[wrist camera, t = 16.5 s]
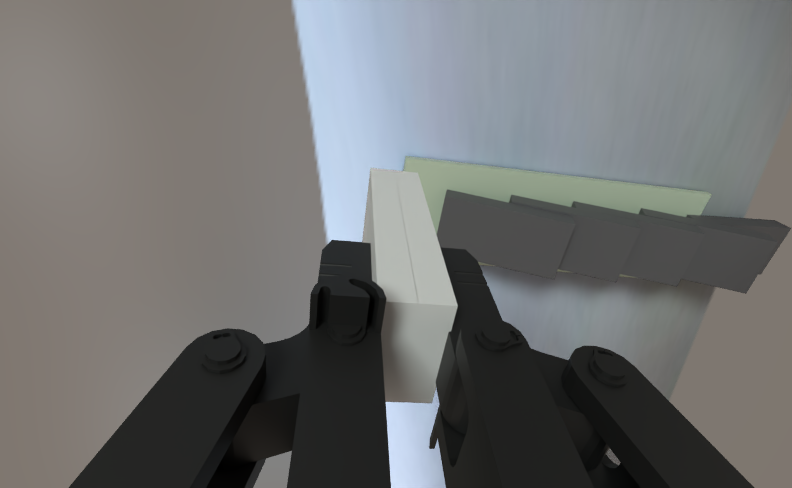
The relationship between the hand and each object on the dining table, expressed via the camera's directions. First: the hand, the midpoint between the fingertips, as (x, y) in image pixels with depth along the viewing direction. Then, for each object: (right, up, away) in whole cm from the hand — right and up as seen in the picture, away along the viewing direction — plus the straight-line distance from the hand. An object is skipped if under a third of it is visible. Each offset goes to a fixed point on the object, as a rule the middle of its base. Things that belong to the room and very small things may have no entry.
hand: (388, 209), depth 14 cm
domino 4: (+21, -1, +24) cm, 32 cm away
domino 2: (+9, 0, +22) cm, 24 cm away
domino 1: (+4, +1, +22) cm, 22 cm away
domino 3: (+15, 0, +23) cm, 27 cm away
